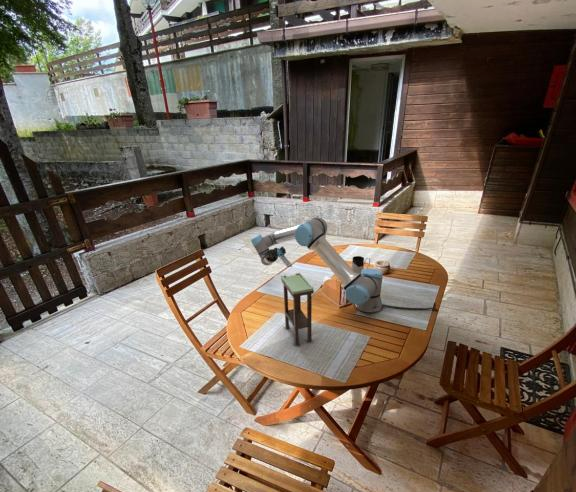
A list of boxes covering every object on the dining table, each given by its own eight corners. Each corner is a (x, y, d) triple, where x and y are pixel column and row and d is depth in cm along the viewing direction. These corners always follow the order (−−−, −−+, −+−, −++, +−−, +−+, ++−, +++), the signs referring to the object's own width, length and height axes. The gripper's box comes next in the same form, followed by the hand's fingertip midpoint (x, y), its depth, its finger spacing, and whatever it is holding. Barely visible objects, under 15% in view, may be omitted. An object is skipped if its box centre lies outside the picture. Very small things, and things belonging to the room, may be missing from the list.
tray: (281, 278, 155) (281, 275, 154) (300, 274, 157) (300, 272, 157) (293, 294, 140) (292, 292, 140) (313, 290, 143) (313, 288, 142)
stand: (283, 327, 170) (281, 277, 155) (301, 323, 172) (300, 274, 157) (294, 346, 155) (292, 294, 140) (313, 342, 158) (313, 290, 143)
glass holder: (347, 277, 219) (349, 257, 211) (364, 273, 223) (366, 253, 216) (354, 282, 212) (356, 261, 204) (372, 278, 216) (374, 257, 209)
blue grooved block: (273, 250, 174) (273, 248, 173) (278, 250, 175) (278, 248, 174) (286, 267, 154) (286, 265, 154) (292, 266, 155) (292, 264, 155)
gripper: (284, 260, 191) (295, 254, 169) (259, 264, 187) (266, 258, 164) (282, 248, 191) (292, 240, 168) (256, 252, 187) (263, 244, 164)
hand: (279, 249), depth 166 cm, fingers closed on blue grooved block, 3 cm apart
